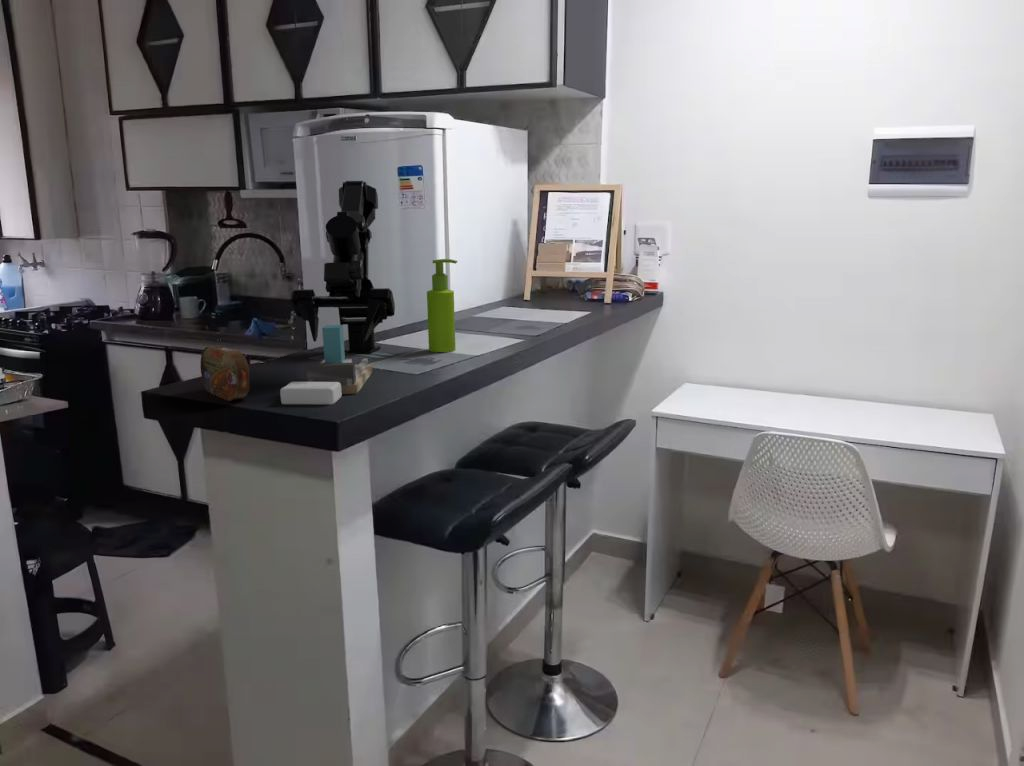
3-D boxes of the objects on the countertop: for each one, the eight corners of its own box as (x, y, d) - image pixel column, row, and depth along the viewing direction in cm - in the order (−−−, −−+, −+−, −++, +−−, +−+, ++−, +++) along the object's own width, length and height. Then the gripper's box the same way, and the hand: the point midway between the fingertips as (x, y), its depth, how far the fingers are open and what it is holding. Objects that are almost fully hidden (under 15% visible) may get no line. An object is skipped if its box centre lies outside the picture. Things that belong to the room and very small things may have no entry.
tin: (201, 390, 135) (196, 343, 133) (218, 387, 137) (213, 341, 136) (237, 405, 125) (232, 355, 123) (255, 402, 127) (250, 352, 125)
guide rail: (325, 372, 148) (324, 347, 146) (372, 372, 148) (370, 346, 147) (304, 394, 131) (302, 366, 130) (357, 393, 131) (355, 365, 130)
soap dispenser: (459, 352, 166) (456, 260, 161) (427, 352, 166) (424, 260, 161) (460, 347, 172) (458, 258, 167) (430, 347, 172) (427, 258, 167)
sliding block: (325, 375, 138) (321, 324, 136) (352, 375, 138) (349, 324, 136) (318, 381, 133) (315, 329, 131) (347, 381, 133) (344, 328, 131)
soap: (343, 398, 130) (341, 380, 129) (333, 406, 124) (332, 388, 124) (291, 397, 130) (290, 380, 130) (279, 405, 125) (278, 388, 124)
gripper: (288, 246, 140) (277, 315, 132) (389, 244, 140) (384, 313, 133) (302, 283, 150) (292, 349, 142) (397, 282, 150) (392, 348, 142)
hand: (339, 339), depth 139 cm, fingers open, 9 cm apart
